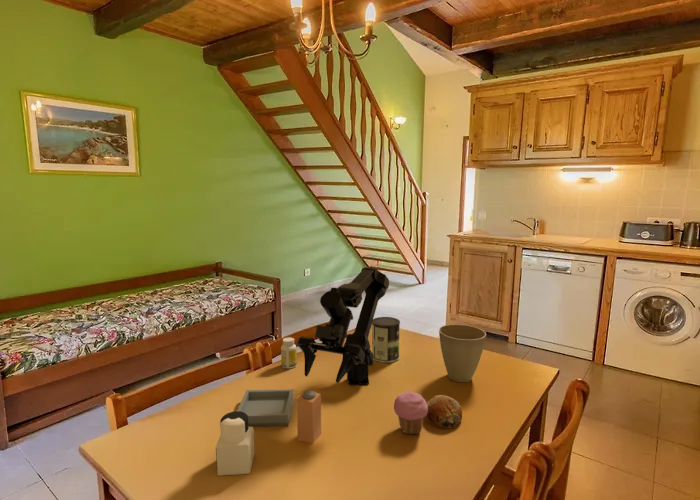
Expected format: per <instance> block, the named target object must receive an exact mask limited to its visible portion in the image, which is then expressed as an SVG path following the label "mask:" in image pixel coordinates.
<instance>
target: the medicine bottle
mask: <svg viewBox="0 0 700 500" xmlns="http://www.w3.org/2000/svg"><path fill="white" fill-rule="evenodd" d="M219 421H220V423H219V424H220V434H219V437H218V440H217V442H216V445H215V458H216V472H217V476H234V475H235V476H236V475H238V476H239V475H249V474H250V473H251V470H252V466H253V461H254V457H255V434H254V432H255V431H254V426H251V427H249V424H248V415H247V414H246V413H244V412H241V411H237V410H236V411H230V412H228V413H225V414H224V415H223V416H222V417H221V418H220V419H219Z"/></svg>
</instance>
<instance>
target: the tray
mask: <svg viewBox="0 0 700 500" xmlns="http://www.w3.org/2000/svg"><path fill="white" fill-rule="evenodd" d="M294 393H295V391H294V389H293V388H292V389H288V388H287V389H247V390H245V393H244V395H243V397H242V399H241V401H240V404H239V405H238V407H237V410H236V411H241V412H244V413H246V414H247V415H248V424H249V427H284V426H285V427H287V426H289V423H290V419H291V414H292V409H293V404H294V399H295V396H294V395H295V394H294Z"/></svg>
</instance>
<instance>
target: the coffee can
mask: <svg viewBox="0 0 700 500" xmlns="http://www.w3.org/2000/svg"><path fill="white" fill-rule="evenodd" d="M400 325H401V321H400V319H398V318H396V317H390V316H379V317H378V316H377V317H374V318H373V321H372V325H371V330H372V331H371V337H372V338H371V339H372V340H371V341H372V342H371V343H372V344H371V352H372V354H373V355H374V356H373V361H376V362H378V363H382V364H391V363H395V362H398V360H400Z"/></svg>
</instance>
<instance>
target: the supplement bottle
mask: <svg viewBox="0 0 700 500" xmlns="http://www.w3.org/2000/svg"><path fill="white" fill-rule="evenodd" d="M297 354H298V353H297V344H295V338H293V337H284V338H282V345H281V347H280V357H281V367H282V368H283V369H287V370H288V369H289V370H291V369H294V368H296V367H297V366H298V364H297V363H298V360H297V359H298V357H297Z"/></svg>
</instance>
